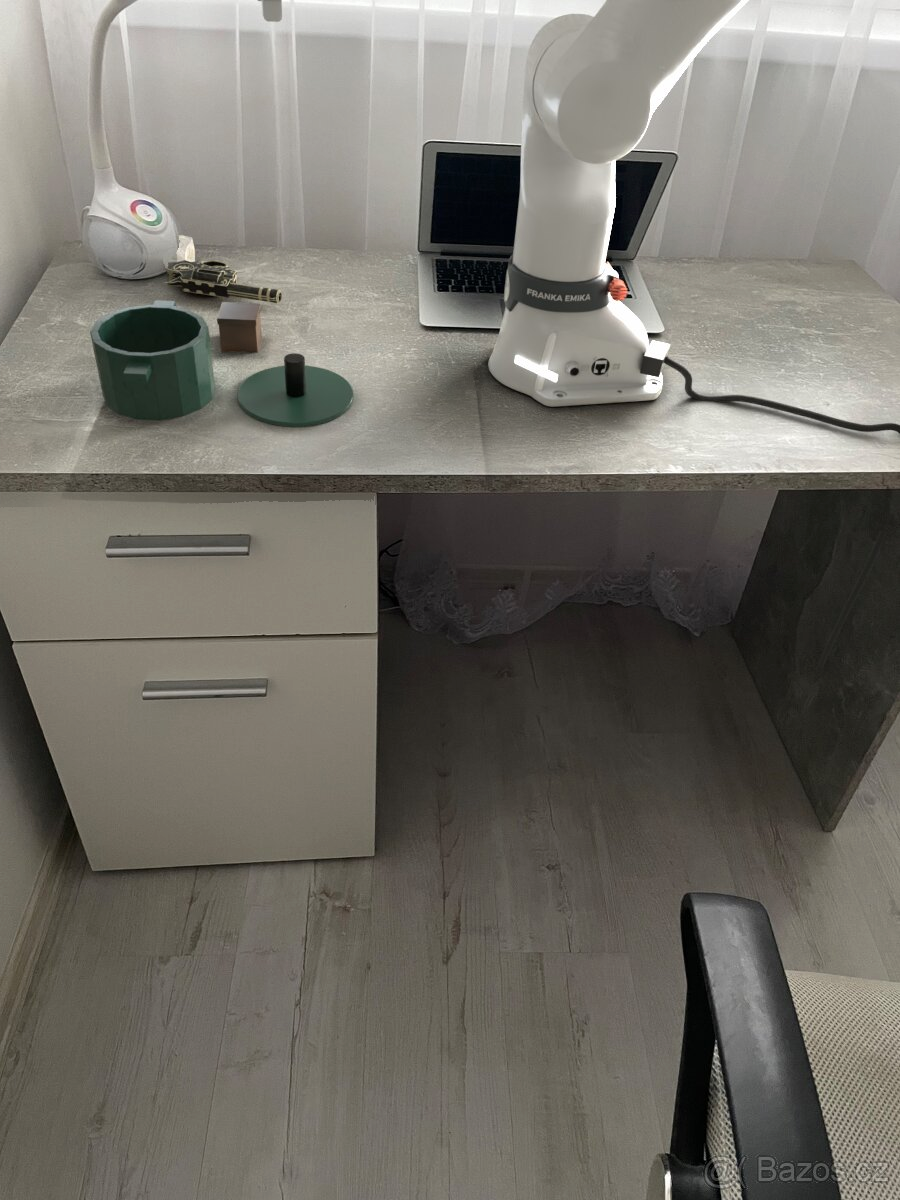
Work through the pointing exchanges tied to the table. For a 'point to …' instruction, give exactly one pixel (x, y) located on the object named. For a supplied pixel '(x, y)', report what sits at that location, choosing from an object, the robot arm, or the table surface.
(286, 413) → the pot lid
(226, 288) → the revolver
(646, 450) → the table surface
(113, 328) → the pot
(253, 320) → the walnut box
